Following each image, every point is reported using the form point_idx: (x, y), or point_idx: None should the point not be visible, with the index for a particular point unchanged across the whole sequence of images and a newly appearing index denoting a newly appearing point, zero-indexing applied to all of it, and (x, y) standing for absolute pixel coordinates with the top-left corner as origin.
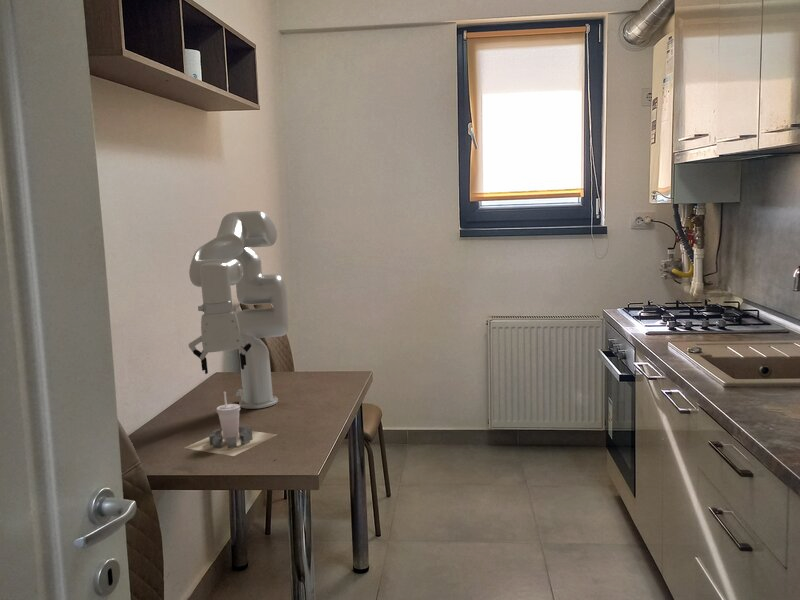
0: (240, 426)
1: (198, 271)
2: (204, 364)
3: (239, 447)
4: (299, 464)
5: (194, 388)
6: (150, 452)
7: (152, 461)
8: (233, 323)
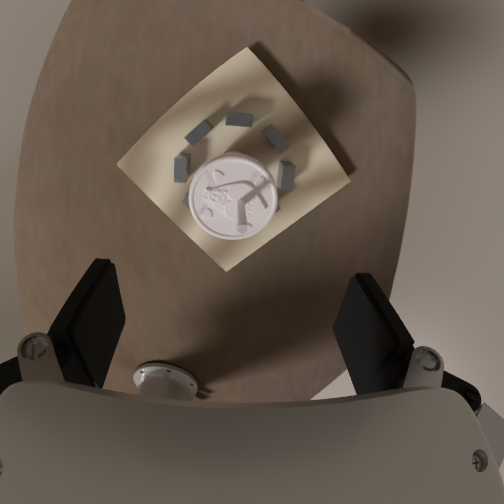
0: None
1: None
2: (395, 314)
3: (221, 104)
4: None
5: None
6: (395, 224)
7: (405, 166)
8: None
